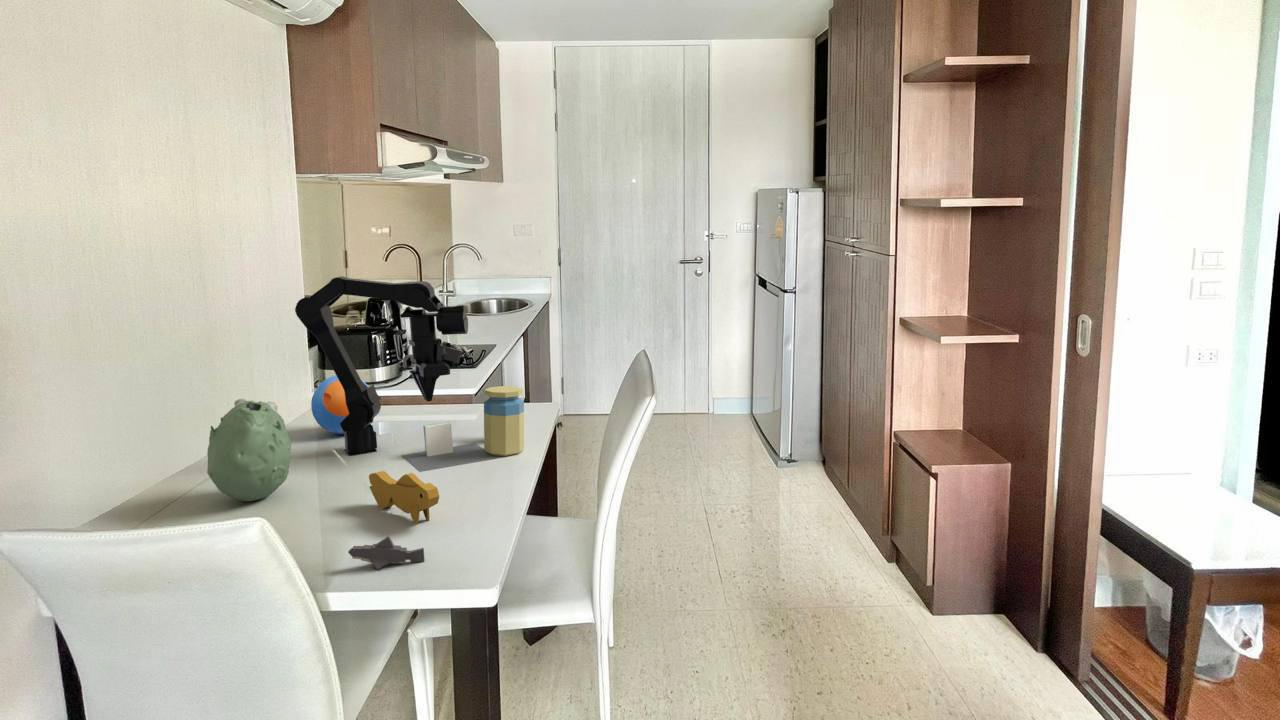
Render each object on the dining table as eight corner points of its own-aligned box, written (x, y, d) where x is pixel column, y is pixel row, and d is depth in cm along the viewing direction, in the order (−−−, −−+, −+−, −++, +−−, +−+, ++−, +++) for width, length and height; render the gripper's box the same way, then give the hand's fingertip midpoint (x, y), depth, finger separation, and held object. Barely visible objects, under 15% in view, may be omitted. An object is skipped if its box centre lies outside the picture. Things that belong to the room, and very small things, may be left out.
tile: (427, 456, 204) (425, 427, 203) (425, 454, 205) (423, 425, 204) (453, 452, 207) (450, 423, 205) (450, 450, 208) (448, 421, 207)
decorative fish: (446, 520, 158) (436, 466, 158) (431, 525, 156) (420, 470, 156) (389, 520, 174) (379, 470, 174) (374, 524, 172) (364, 474, 172)
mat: (420, 473, 192) (419, 471, 192) (400, 456, 206) (400, 455, 205) (498, 459, 201) (498, 458, 200) (474, 444, 214) (474, 443, 214)
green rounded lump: (199, 517, 168) (186, 415, 165) (226, 487, 186) (216, 395, 183) (285, 510, 171) (274, 409, 167) (304, 481, 189) (295, 390, 186)
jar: (526, 456, 202) (525, 392, 200) (485, 458, 200) (484, 393, 198) (522, 447, 211) (521, 385, 209) (483, 448, 209) (482, 386, 207)
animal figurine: (424, 564, 146) (427, 534, 145) (422, 574, 141) (426, 544, 141) (349, 558, 143) (352, 528, 143) (344, 569, 139) (348, 538, 138)
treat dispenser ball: (373, 423, 240) (369, 367, 237) (379, 436, 226) (374, 377, 223) (313, 430, 234) (307, 373, 232) (315, 443, 220) (309, 383, 218)
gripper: (469, 336, 202) (474, 402, 205) (444, 328, 218) (449, 389, 221) (421, 341, 197) (426, 409, 200) (399, 332, 213) (404, 395, 216)
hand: (428, 400), depth 209 cm, fingers closed
